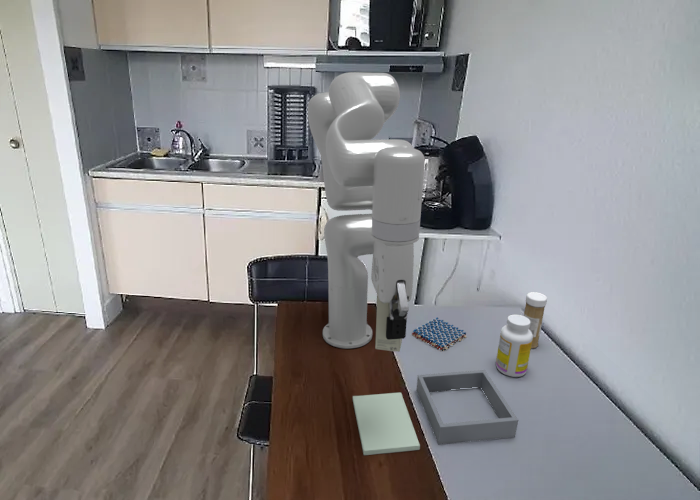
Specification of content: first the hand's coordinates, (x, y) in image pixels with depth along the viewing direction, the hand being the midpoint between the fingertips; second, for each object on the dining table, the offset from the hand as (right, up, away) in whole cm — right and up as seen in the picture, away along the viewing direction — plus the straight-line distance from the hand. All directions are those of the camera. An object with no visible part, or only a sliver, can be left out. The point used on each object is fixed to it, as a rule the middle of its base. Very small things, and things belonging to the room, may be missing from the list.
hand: (390, 324), depth 76 cm
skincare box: (0, -3, +1) cm, 3 cm away
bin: (+15, -19, +11) cm, 27 cm away
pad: (0, -20, +8) cm, 22 cm away
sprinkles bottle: (+37, -11, +33) cm, 51 cm away
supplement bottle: (+30, -14, +24) cm, 41 cm away
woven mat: (+16, -10, +36) cm, 41 cm away
